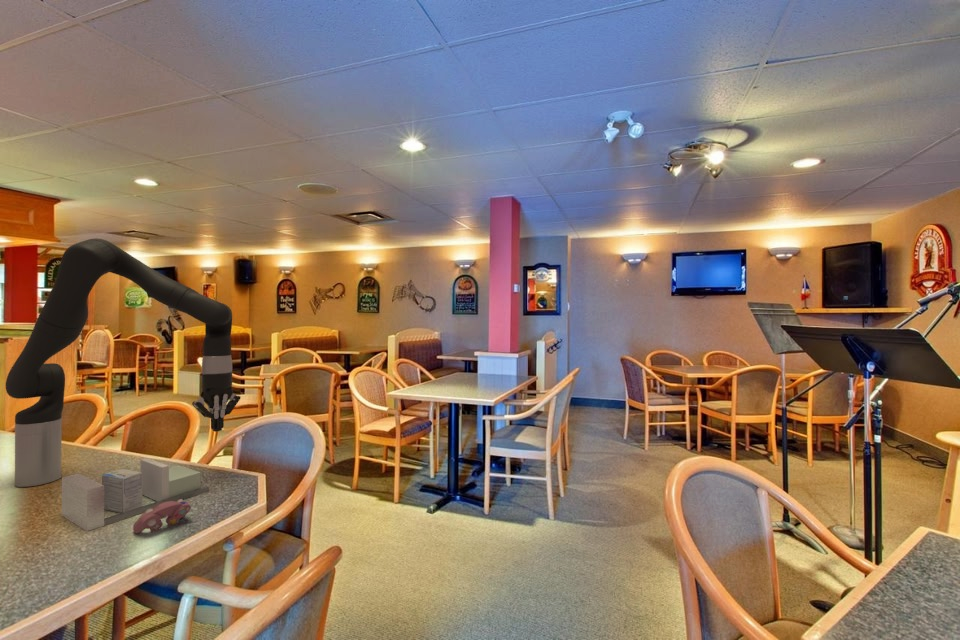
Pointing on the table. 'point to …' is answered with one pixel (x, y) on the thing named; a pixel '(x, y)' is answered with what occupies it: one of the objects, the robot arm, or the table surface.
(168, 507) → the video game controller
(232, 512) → the table surface
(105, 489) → the medicine box
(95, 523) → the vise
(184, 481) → the sliding jaw
